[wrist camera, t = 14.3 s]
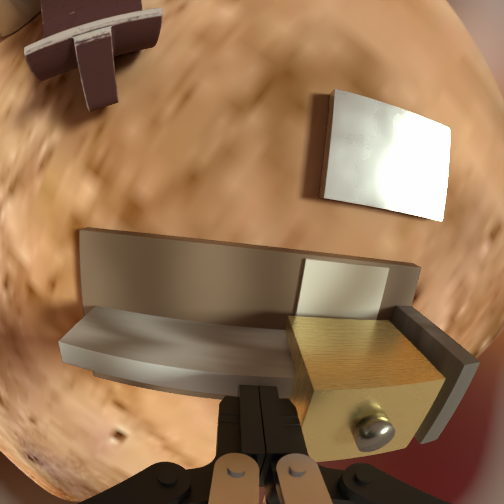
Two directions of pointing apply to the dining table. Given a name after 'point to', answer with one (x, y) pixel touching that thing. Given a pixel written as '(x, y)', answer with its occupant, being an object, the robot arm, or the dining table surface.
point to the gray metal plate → (384, 157)
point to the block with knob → (357, 386)
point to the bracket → (91, 42)
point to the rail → (237, 314)
